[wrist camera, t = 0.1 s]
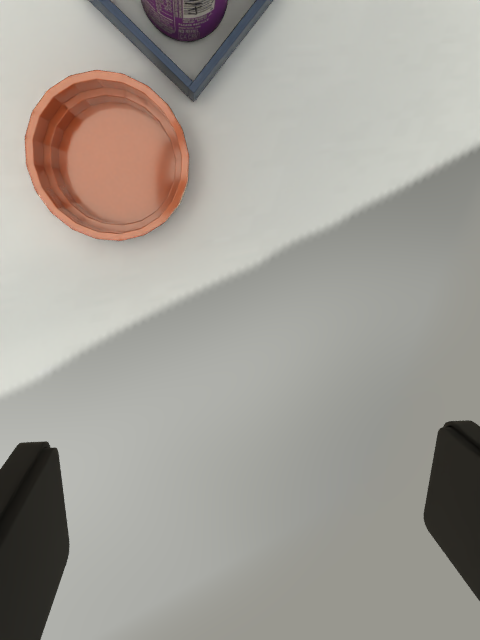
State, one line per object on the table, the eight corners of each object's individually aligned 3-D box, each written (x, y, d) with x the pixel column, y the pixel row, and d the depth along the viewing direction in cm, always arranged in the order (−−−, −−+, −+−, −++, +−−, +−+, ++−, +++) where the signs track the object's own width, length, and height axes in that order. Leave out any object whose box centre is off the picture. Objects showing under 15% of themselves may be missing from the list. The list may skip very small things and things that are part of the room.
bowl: (103, 55, 33) (89, 30, 29) (215, 160, 37) (219, 153, 32) (18, 171, 35) (-9, 166, 30) (133, 262, 38) (125, 270, 34)
